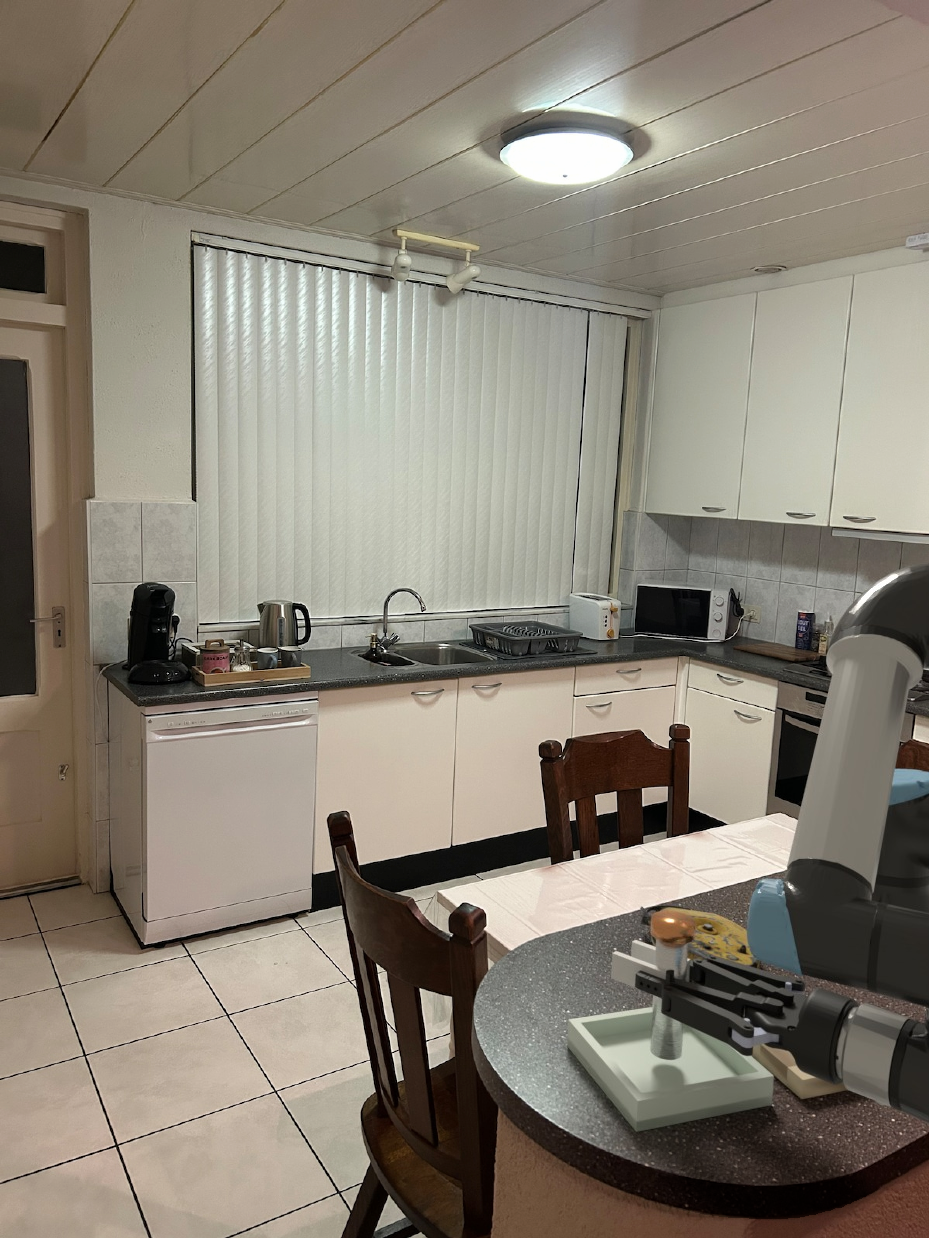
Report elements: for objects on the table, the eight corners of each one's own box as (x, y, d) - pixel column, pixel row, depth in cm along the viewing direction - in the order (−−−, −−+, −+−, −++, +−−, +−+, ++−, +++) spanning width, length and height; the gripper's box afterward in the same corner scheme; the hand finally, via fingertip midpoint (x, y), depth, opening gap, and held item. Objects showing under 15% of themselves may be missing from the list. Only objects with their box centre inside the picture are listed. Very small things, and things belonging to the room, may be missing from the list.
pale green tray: (687, 1026, 104) (689, 1001, 104) (771, 1104, 90) (773, 1075, 90) (567, 1045, 100) (568, 1019, 99) (636, 1131, 86) (637, 1100, 85)
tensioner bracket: (814, 1038, 103) (815, 1021, 103) (874, 1084, 94) (875, 1065, 94) (746, 1050, 100) (747, 1032, 100) (801, 1098, 92) (802, 1079, 91)
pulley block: (709, 986, 101) (638, 884, 131) (698, 1036, 101) (630, 924, 131) (831, 1005, 102) (733, 900, 132) (820, 1055, 102) (725, 939, 132)
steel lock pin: (673, 1036, 98) (680, 908, 96) (696, 1059, 93) (704, 925, 92) (636, 1042, 96) (643, 912, 95) (658, 1066, 92) (665, 930, 91)
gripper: (813, 1125, 77) (578, 1020, 92) (877, 1048, 89) (659, 967, 104) (820, 1038, 76) (581, 948, 91) (882, 973, 88) (663, 903, 103)
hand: (623, 958), depth 98 cm, fingers closed on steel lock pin, 3 cm apart
